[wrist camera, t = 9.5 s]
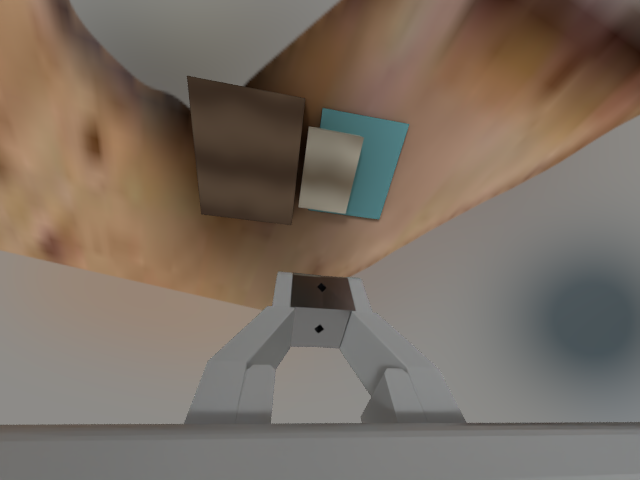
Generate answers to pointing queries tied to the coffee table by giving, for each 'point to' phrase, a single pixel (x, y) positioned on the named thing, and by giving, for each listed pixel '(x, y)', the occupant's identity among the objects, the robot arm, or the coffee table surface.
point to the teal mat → (369, 158)
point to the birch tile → (329, 169)
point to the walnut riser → (245, 150)
